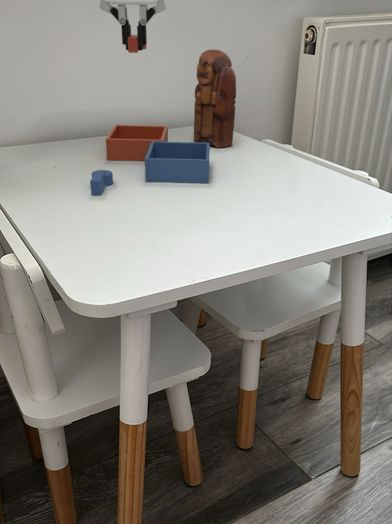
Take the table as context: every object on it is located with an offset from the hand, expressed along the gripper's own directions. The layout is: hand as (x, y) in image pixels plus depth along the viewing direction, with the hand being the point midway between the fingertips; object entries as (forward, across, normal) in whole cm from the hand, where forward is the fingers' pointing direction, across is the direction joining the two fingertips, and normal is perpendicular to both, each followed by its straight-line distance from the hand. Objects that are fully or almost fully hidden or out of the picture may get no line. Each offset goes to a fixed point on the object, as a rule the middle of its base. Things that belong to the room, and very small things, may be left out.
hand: (134, 48), depth 104 cm
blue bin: (+19, -9, +13) cm, 24 cm away
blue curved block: (+19, +4, +23) cm, 30 cm away
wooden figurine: (+19, -15, -10) cm, 26 cm away
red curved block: (0, 0, -1) cm, 1 cm away
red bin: (+19, 0, 0) cm, 19 cm away
